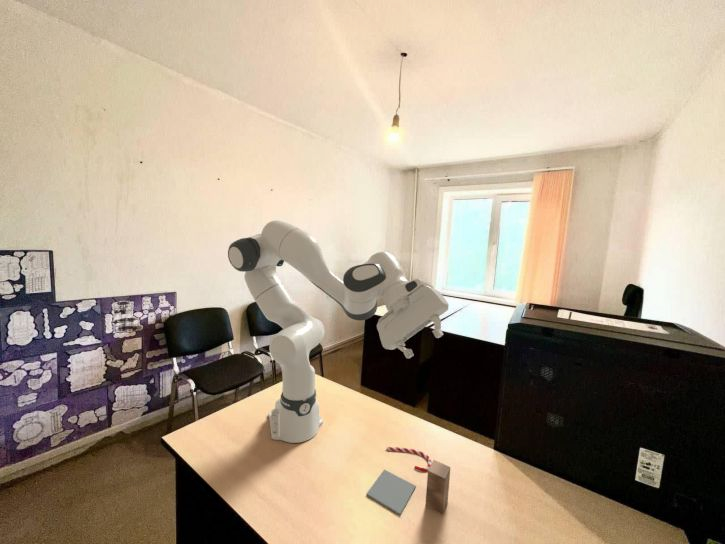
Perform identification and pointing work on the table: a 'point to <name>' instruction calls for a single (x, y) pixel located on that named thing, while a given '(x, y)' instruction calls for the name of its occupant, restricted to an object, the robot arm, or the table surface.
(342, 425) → the table surface
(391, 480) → the slate mat
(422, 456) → the candy cane
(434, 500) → the walnut block
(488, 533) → the table surface
